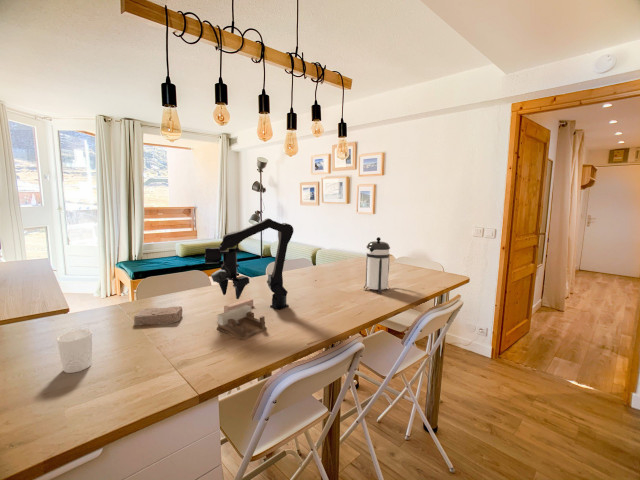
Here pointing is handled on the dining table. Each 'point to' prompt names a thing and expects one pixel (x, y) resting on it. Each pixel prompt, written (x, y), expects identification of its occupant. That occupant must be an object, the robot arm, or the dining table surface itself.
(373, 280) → the coffee press
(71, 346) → the white cup
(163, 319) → the brick
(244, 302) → the clay strip
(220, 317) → the strip
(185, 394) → the dining table surface
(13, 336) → the dining table surface
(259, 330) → the rack
